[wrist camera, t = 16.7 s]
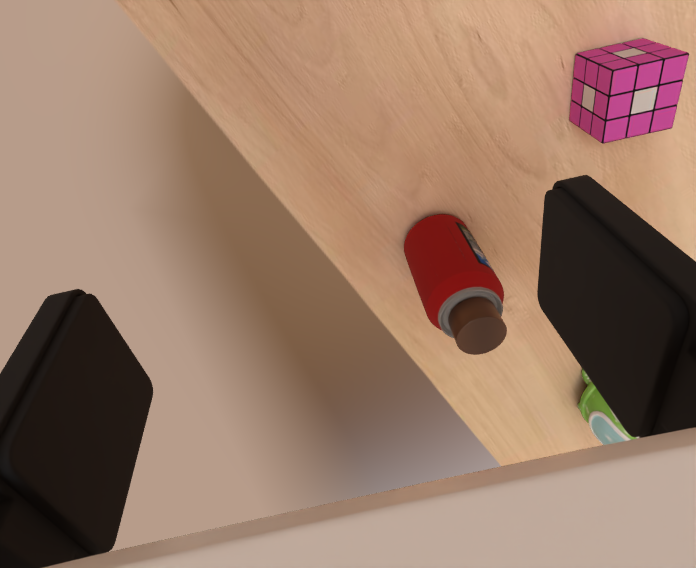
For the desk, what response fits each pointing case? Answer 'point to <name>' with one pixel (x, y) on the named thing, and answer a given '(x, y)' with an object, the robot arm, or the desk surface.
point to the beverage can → (449, 268)
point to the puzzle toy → (627, 89)
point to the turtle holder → (601, 416)
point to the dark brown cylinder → (477, 325)
